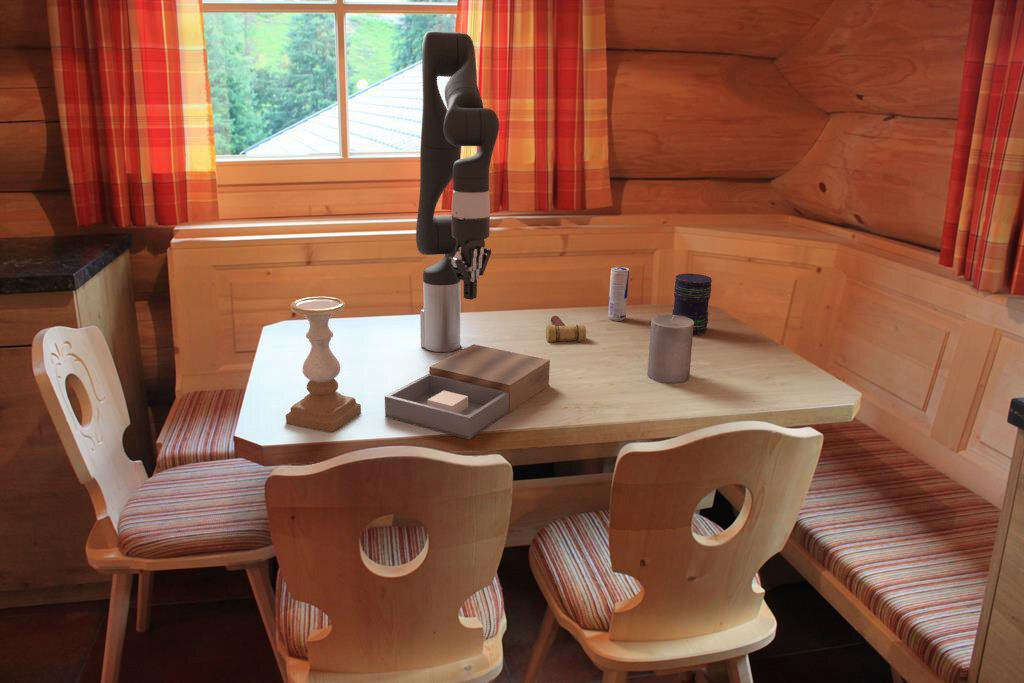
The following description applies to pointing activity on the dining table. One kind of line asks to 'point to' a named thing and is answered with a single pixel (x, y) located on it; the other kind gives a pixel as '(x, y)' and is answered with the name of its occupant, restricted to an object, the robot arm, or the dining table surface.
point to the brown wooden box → (497, 371)
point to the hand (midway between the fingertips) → (470, 298)
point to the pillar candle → (670, 348)
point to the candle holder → (321, 371)
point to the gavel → (564, 331)
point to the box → (466, 424)
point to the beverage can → (618, 293)
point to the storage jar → (693, 299)
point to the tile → (449, 401)
